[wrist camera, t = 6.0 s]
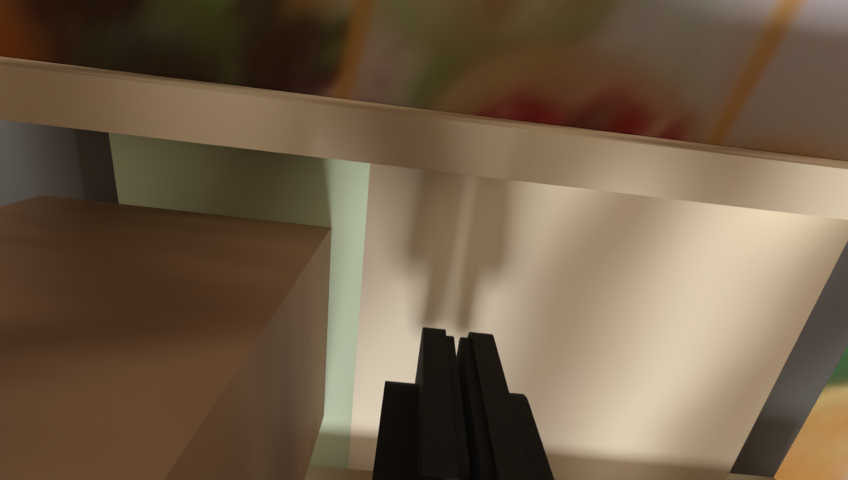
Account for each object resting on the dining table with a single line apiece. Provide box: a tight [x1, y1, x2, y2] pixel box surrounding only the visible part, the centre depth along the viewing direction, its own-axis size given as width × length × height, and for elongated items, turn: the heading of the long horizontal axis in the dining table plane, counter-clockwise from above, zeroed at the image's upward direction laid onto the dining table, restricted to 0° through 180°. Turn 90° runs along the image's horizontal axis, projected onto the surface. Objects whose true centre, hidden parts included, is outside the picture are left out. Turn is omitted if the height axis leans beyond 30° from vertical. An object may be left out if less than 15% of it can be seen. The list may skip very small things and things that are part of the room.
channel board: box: [0, 56, 848, 480], centre depth 11 cm, size 28×12×4 cm, turn 83°
